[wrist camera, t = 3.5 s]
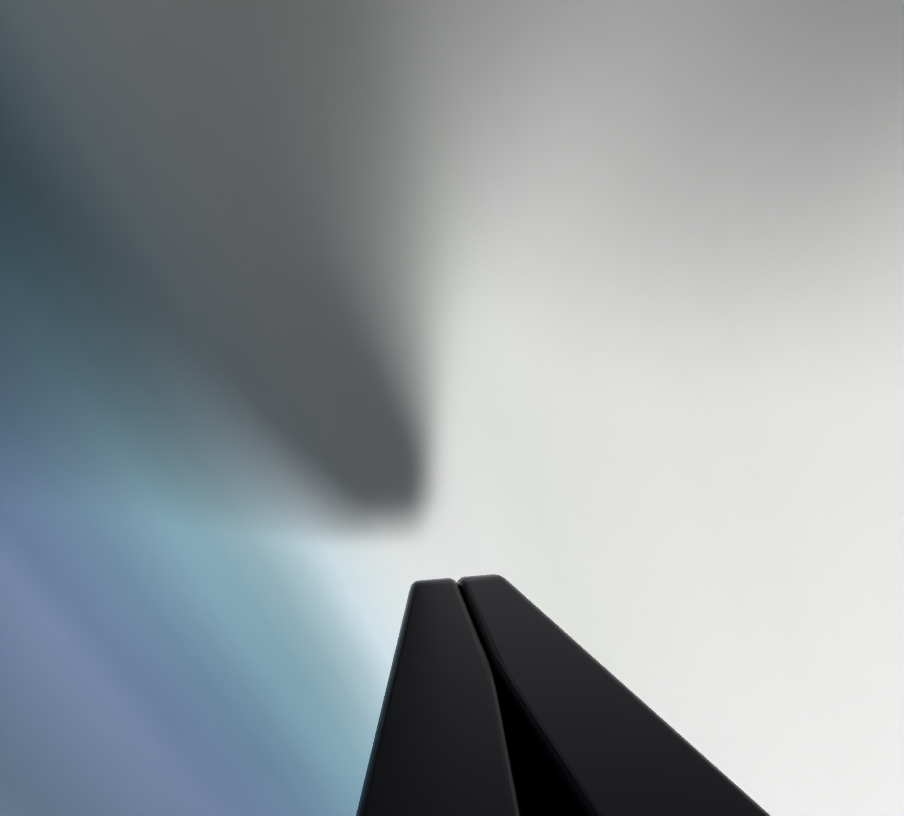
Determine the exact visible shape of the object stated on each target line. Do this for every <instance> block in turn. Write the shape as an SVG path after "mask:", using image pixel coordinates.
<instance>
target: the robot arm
mask: <svg viewBox="0 0 904 816" xmlns="http://www.w3.org/2000/svg"><path fill="white" fill-rule="evenodd" d="M356 816H770V815H769V814H768V813H767V812H766V811H765V810H764V809H762V808H761V807H760V806H759V805H758V804H757V803H756V802H755V801H753V800H752V799H751V798H750V797H749V796H748V795H747V794H746V793H745V792H743V791H742V790H741V789H740V788H739V787H738V786H737V785H736V784H734V783H733V782H732V781H731V780H730V779H729V778H728V777H727V776H725V775H724V774H723V773H722V772H721V771H720V770H719V769H718V768H717V767H715V766H714V765H713V764H712V763H711V762H710V761H709V760H708V759H706V758H705V757H704V756H703V755H702V754H701V753H700V752H699V751H698V750H696V749H695V748H694V747H693V746H692V745H691V744H690V743H689V742H687V741H686V740H685V739H684V738H683V737H682V736H681V735H680V734H678V733H677V732H676V731H675V730H674V729H673V728H672V727H671V726H670V725H668V724H667V723H666V722H665V721H664V720H663V719H662V718H661V717H659V716H658V715H657V714H656V713H655V712H654V711H653V710H652V709H650V708H649V707H648V706H647V705H646V704H645V703H644V702H643V701H642V700H640V699H639V698H638V697H637V696H636V695H635V694H634V693H633V692H631V691H630V690H629V689H628V688H627V687H626V686H625V685H624V684H623V683H621V682H620V681H619V680H618V679H617V678H616V677H615V676H614V675H612V674H611V673H610V672H609V671H608V670H607V669H606V668H605V667H603V666H602V665H601V664H600V663H599V662H598V661H597V660H596V659H595V658H593V657H592V656H591V655H590V654H589V653H588V652H587V651H586V650H584V649H583V648H582V647H581V646H580V645H579V644H578V643H577V642H576V641H574V640H573V639H572V638H571V637H570V636H569V635H568V634H567V633H565V632H564V631H563V630H562V629H561V628H560V627H559V626H558V625H556V624H555V623H554V622H553V621H552V620H551V619H550V618H549V617H548V616H546V615H545V614H544V613H543V612H542V611H541V610H540V609H539V608H537V607H536V606H535V605H534V604H533V603H532V602H531V601H530V600H528V599H527V598H526V597H525V596H524V595H523V594H522V593H521V592H520V591H518V590H517V589H516V588H515V587H514V586H513V585H512V584H511V583H509V582H508V581H507V580H506V579H505V578H503V577H501V576H499V575H494V574H493V575H481V576H469V577H462V578H461V579H459V580H458V581H457V583H456V581H454V580H452V579H451V578H444V579H432V580H420V581H415V582H414V583H413V584H412V585H411V588H410V591H409V595H408V600H407V604H406V608H405V612H404V616H403V621H402V625H401V629H400V633H399V637H398V642H397V646H396V650H395V654H394V659H393V663H392V667H391V671H390V675H389V680H388V684H387V688H386V692H385V696H384V701H383V705H382V709H381V713H380V717H379V722H378V726H377V730H376V734H375V738H374V743H373V747H372V751H371V755H370V759H369V764H368V768H367V772H366V776H365V780H364V785H363V789H362V793H361V797H360V801H359V806H358V810H357V814H356Z"/></svg>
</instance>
